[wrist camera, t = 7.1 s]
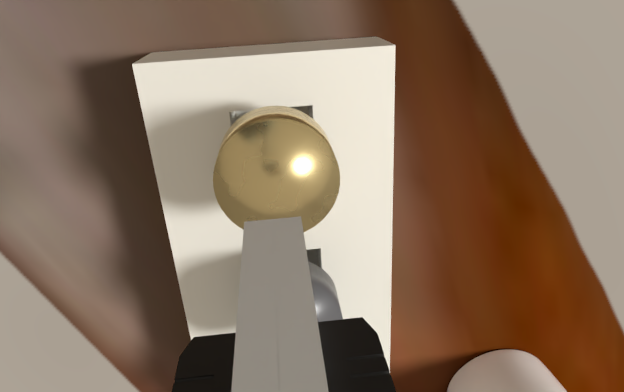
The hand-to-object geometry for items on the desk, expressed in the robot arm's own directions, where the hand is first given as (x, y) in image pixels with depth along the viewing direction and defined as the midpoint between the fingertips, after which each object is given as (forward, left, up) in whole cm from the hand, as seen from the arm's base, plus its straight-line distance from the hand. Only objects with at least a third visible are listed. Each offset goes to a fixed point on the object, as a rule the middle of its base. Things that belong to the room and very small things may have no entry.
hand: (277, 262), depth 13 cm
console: (+8, -2, -15) cm, 17 cm away
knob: (+1, 0, -14) cm, 14 cm away
